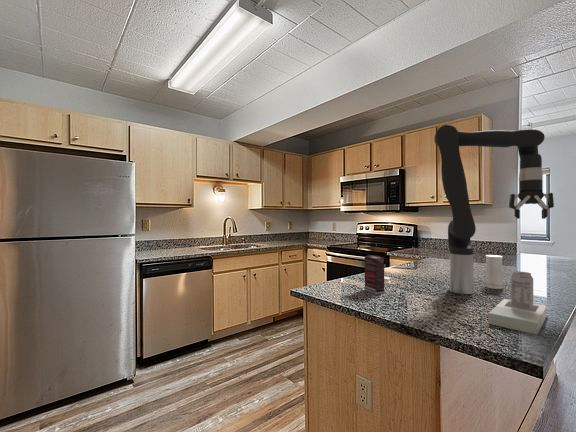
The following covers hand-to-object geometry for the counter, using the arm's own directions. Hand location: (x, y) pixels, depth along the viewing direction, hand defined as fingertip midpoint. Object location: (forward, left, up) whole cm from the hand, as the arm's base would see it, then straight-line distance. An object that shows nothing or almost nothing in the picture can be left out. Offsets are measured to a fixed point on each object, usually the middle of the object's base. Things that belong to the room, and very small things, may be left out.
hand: (530, 218), depth 122 cm
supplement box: (-61, -15, -33) cm, 71 cm away
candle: (-10, +15, -33) cm, 38 cm away
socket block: (-12, -33, -33) cm, 48 cm away
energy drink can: (-10, -28, -33) cm, 45 cm away
